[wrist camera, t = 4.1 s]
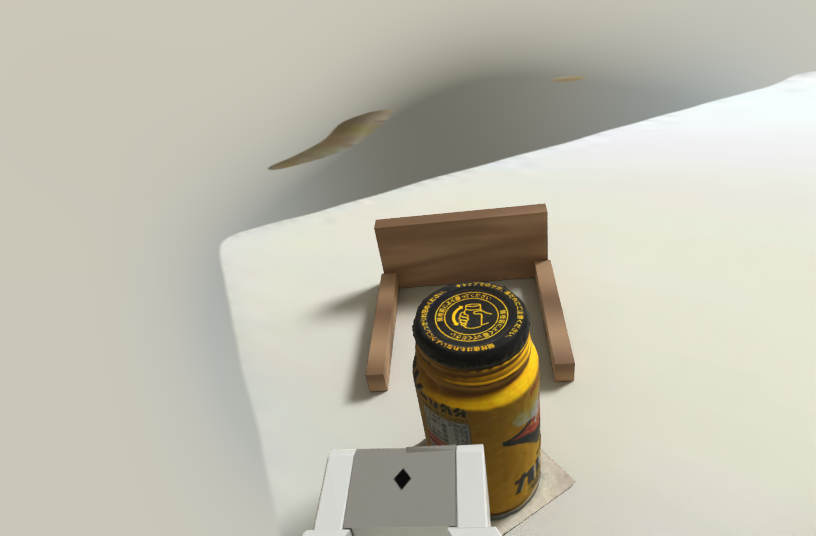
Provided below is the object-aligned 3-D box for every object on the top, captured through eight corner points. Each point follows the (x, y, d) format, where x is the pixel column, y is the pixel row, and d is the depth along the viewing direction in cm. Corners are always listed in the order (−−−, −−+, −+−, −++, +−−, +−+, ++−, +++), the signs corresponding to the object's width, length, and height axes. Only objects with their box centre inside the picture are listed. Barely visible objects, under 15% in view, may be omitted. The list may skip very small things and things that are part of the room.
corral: (574, 380, 37) (576, 309, 33) (370, 391, 38) (351, 325, 35) (548, 267, 46) (547, 203, 43) (386, 280, 48) (373, 220, 45)
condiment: (575, 483, 31) (582, 319, 24) (447, 576, 28) (412, 420, 21) (492, 401, 36) (478, 247, 29) (377, 471, 33) (330, 319, 26)
